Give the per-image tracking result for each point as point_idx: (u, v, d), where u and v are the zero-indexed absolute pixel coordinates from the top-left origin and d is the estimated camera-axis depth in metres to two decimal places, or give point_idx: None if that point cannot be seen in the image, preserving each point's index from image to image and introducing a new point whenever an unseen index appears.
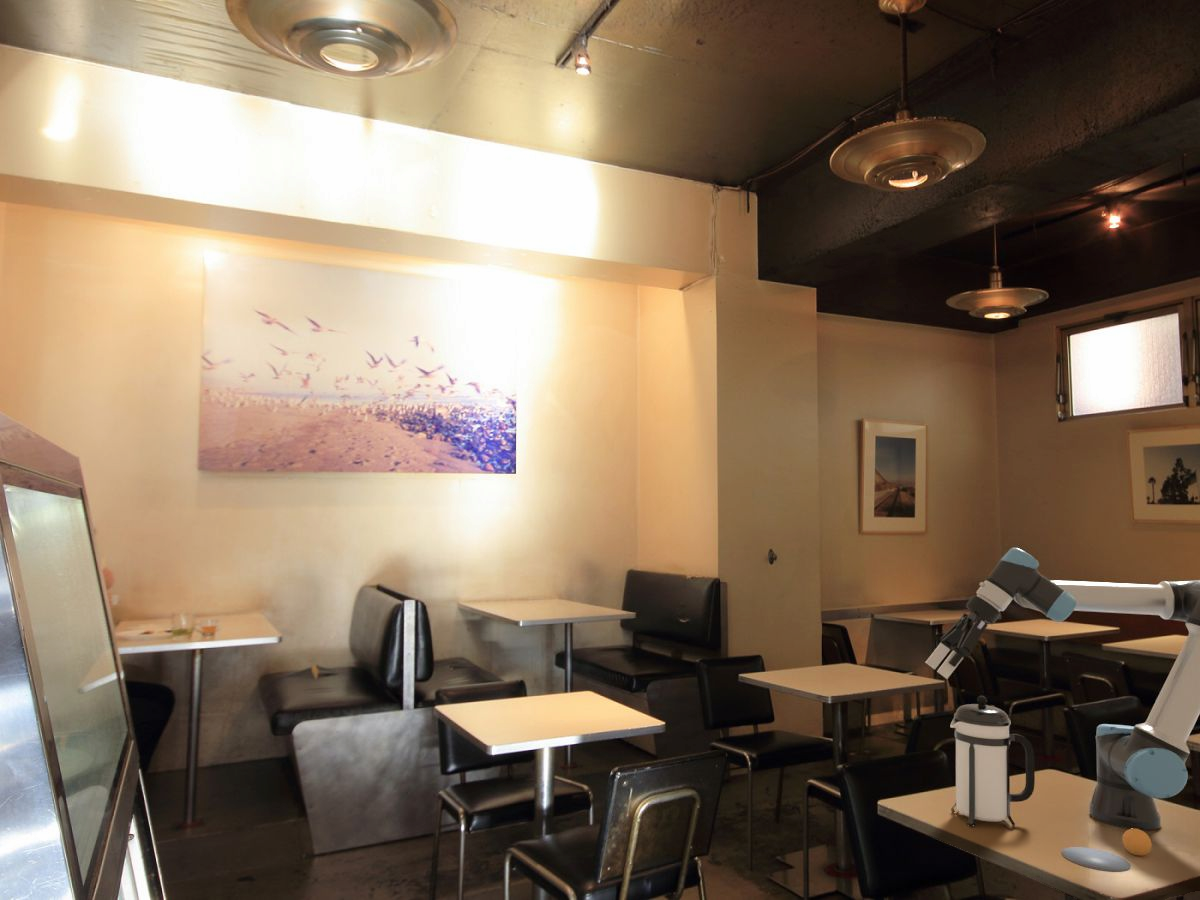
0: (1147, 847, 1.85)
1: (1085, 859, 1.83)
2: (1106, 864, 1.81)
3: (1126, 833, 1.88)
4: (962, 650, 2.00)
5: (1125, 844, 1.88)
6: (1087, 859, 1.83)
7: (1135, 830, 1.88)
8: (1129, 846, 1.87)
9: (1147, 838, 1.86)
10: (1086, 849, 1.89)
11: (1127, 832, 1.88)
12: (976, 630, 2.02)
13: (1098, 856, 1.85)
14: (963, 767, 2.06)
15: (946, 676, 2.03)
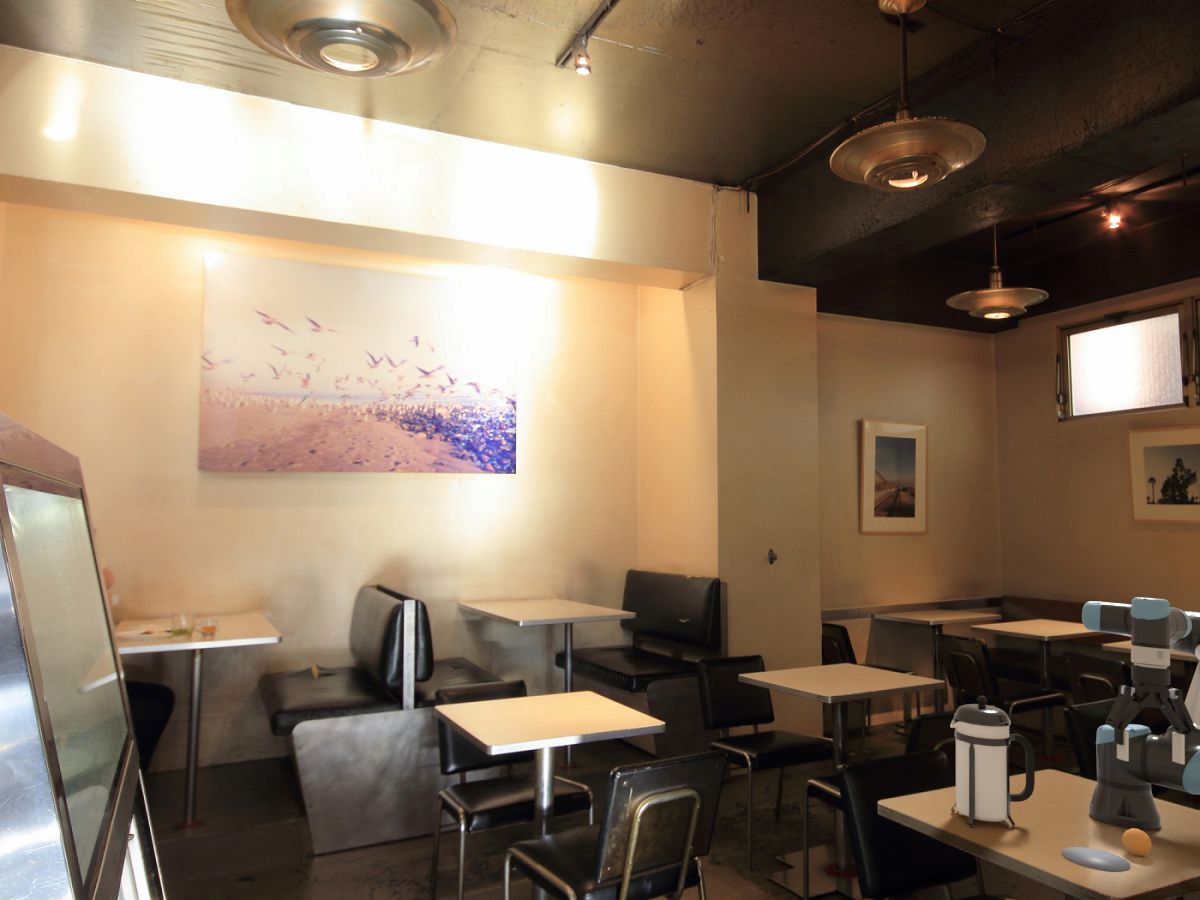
0: (1147, 847, 1.85)
1: (1085, 859, 1.83)
2: (1106, 864, 1.81)
3: (1126, 833, 1.88)
4: None
5: (1125, 844, 1.88)
6: (1087, 859, 1.83)
7: (1135, 830, 1.88)
8: (1129, 846, 1.87)
9: (1147, 838, 1.86)
10: (1086, 849, 1.89)
11: (1127, 832, 1.88)
12: None
13: (1098, 856, 1.85)
14: (963, 767, 2.06)
15: None
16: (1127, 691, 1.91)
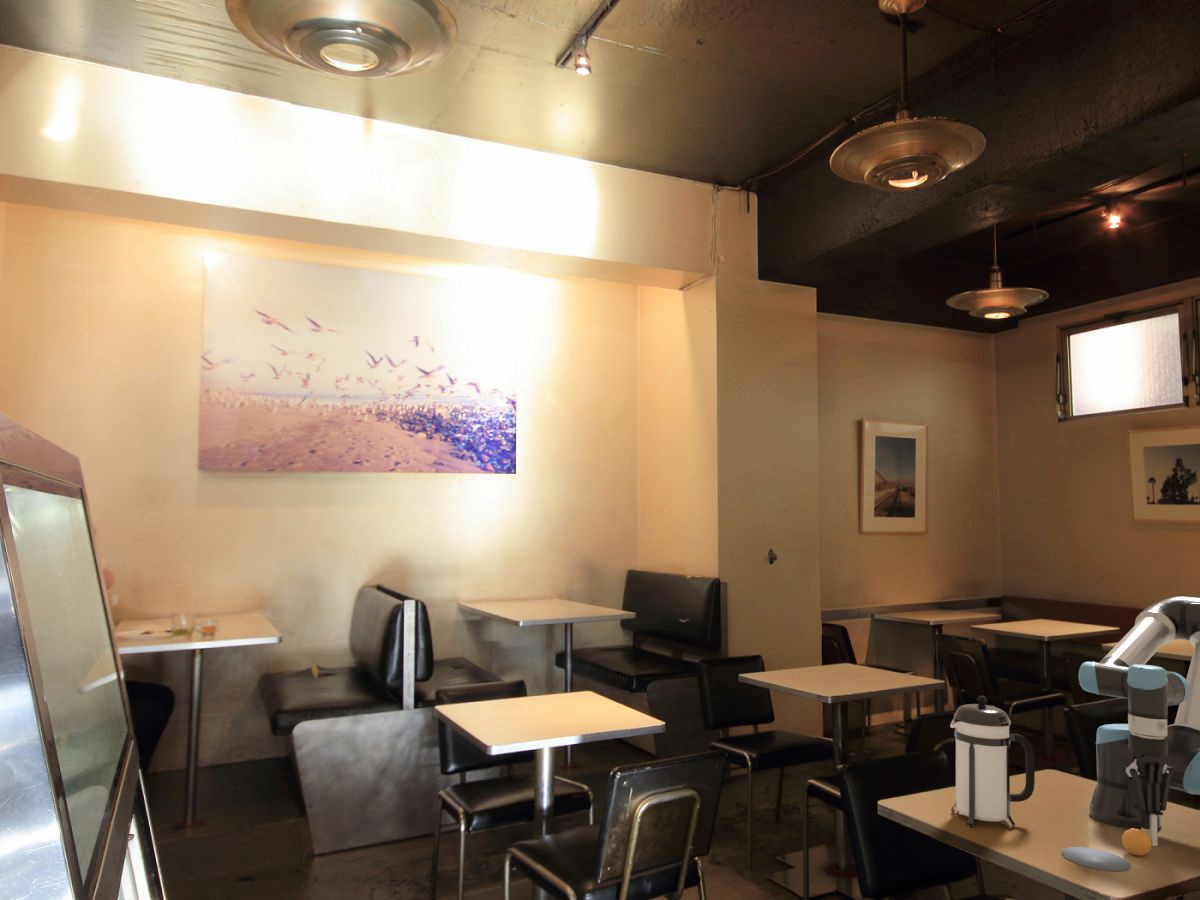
0: (1147, 847, 1.85)
1: (1085, 859, 1.83)
2: (1106, 864, 1.81)
3: (1126, 833, 1.88)
4: None
5: (1125, 844, 1.88)
6: (1087, 859, 1.83)
7: (1135, 830, 1.88)
8: (1128, 846, 1.87)
9: (1147, 838, 1.86)
10: (1086, 849, 1.89)
11: (1127, 832, 1.88)
12: None
13: (1098, 856, 1.85)
14: (963, 767, 2.06)
15: None
16: (1134, 775, 1.87)
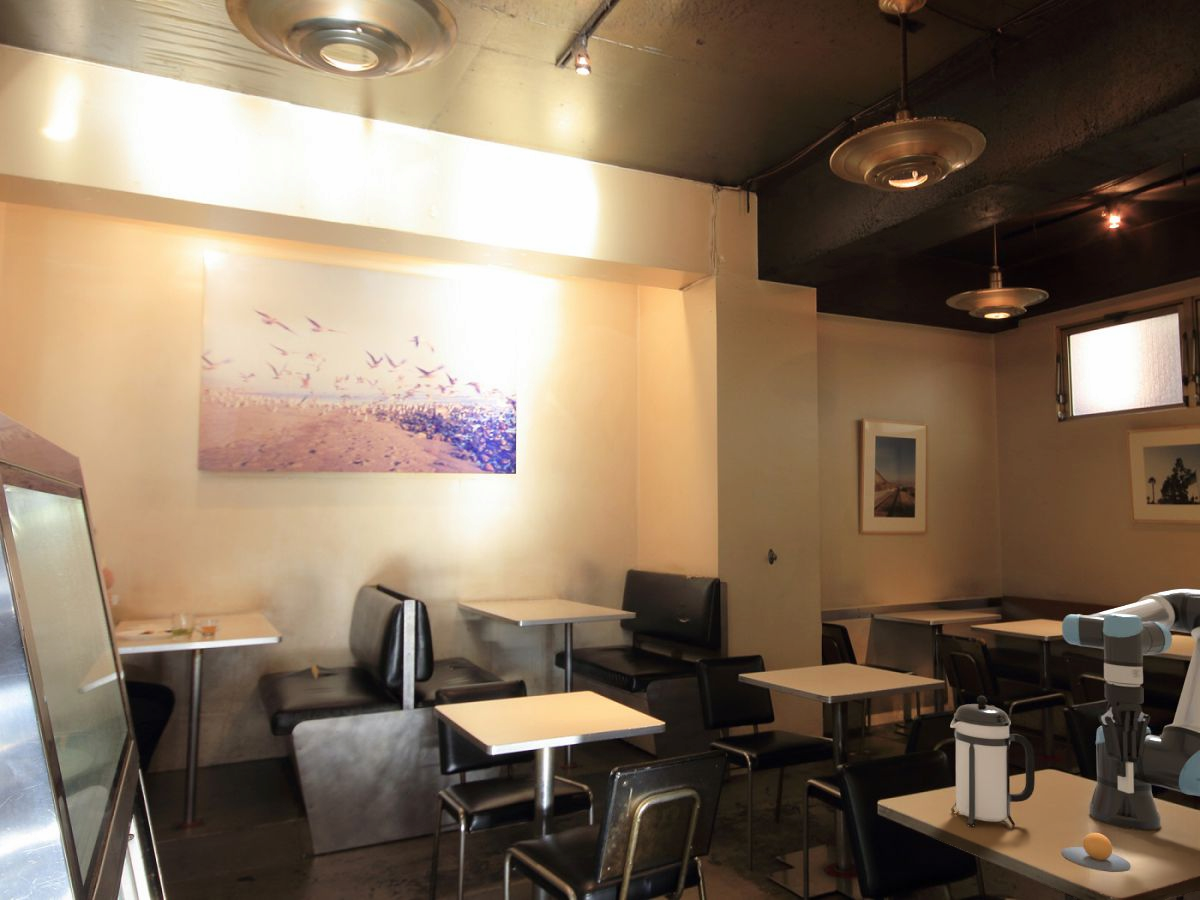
0: (1108, 849, 1.82)
1: (1085, 859, 1.83)
2: (1106, 864, 1.81)
3: None
4: None
5: None
6: (1087, 859, 1.83)
7: None
8: (1101, 834, 1.84)
9: (1110, 855, 1.82)
10: None
11: None
12: None
13: None
14: (963, 767, 2.06)
15: None
16: (1109, 722, 1.86)
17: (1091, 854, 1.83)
